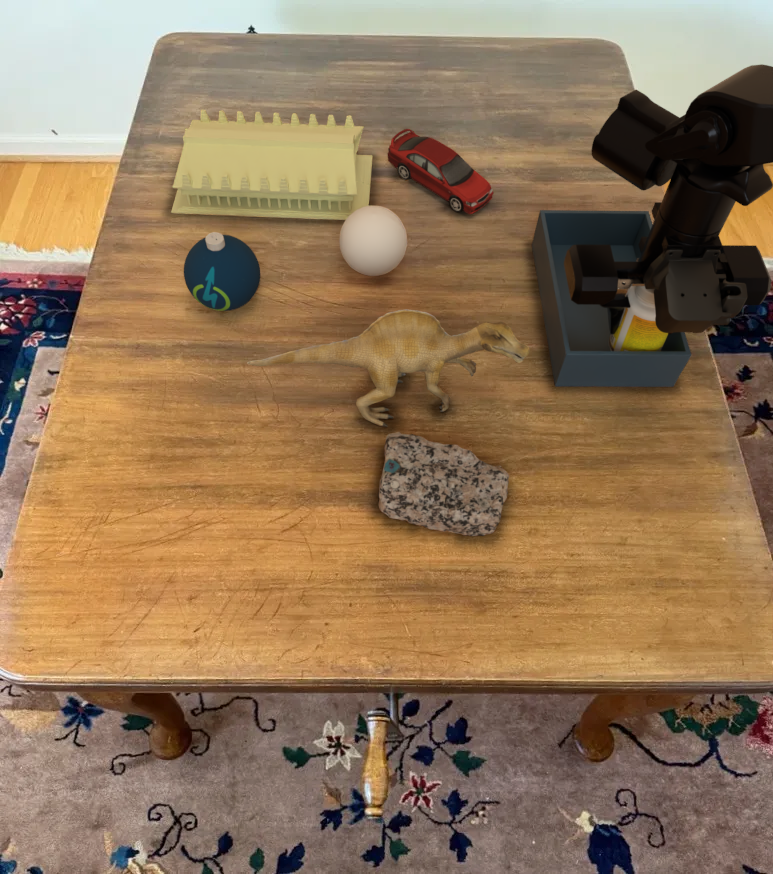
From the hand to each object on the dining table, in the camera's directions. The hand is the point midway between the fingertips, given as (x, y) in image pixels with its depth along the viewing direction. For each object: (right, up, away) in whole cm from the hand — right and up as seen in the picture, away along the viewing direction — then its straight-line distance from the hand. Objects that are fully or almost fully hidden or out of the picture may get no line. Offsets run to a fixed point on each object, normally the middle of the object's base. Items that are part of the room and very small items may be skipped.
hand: (639, 331), depth 79 cm
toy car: (-20, +22, +19) cm, 36 cm away
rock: (-21, -17, -6) cm, 28 cm away
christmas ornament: (-45, +5, +8) cm, 46 cm away
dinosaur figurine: (-27, -7, +1) cm, 28 cm away
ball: (-29, +9, +11) cm, 32 cm away
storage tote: (-2, +3, +8) cm, 9 cm away
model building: (-42, +22, +19) cm, 51 cm away
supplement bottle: (0, -2, +3) cm, 3 cm away
